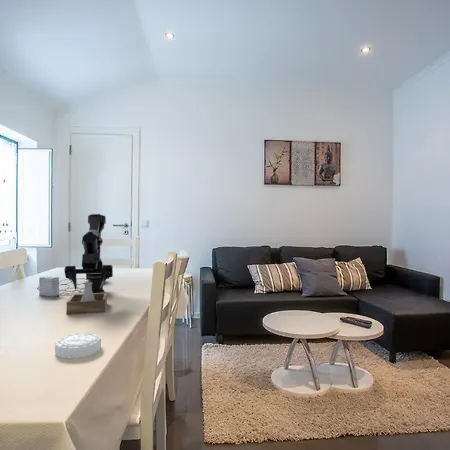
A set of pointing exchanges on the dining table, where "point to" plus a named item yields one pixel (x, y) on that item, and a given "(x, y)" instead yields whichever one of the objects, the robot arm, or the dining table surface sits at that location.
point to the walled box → (86, 304)
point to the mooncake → (77, 345)
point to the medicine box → (49, 286)
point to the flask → (88, 292)
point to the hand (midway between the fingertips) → (87, 288)
